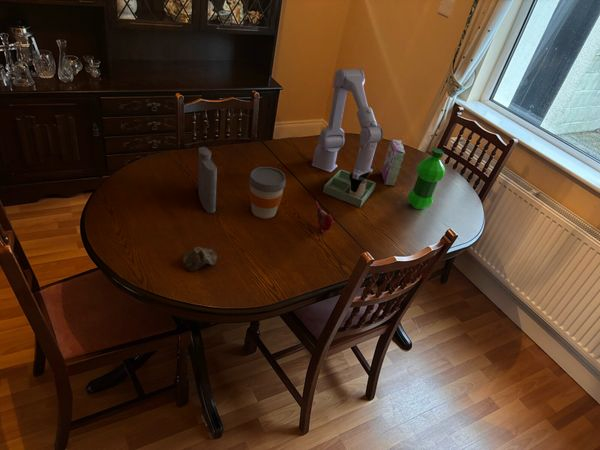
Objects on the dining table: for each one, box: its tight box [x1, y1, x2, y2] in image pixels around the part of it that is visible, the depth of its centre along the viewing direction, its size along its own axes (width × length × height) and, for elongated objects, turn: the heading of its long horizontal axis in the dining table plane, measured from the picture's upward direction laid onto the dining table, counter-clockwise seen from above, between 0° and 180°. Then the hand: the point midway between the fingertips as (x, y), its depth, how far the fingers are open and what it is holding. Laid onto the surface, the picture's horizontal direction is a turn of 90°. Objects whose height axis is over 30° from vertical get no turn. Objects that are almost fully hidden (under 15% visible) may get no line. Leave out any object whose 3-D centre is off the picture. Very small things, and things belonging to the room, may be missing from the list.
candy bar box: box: [381, 138, 406, 187], centre depth 189 cm, size 11×5×16 cm, turn 179°
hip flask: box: [197, 146, 218, 214], centre depth 155 cm, size 16×4×20 cm, turn 23°
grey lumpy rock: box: [182, 245, 218, 272], centre depth 133 cm, size 8×7×10 cm
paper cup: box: [348, 177, 367, 199], centre depth 174 cm, size 6×6×8 cm
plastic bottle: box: [407, 147, 446, 210], centre depth 173 cm, size 10×10×25 cm
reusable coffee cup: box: [248, 166, 286, 219], centre depth 157 cm, size 13×13×15 cm
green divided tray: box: [322, 168, 377, 208], centre depth 180 cm, size 16×16×4 cm
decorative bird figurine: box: [315, 199, 334, 235], centre depth 156 cm, size 3×18×10 cm, turn 15°
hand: (357, 187), depth 174 cm, fingers open, 7 cm apart
